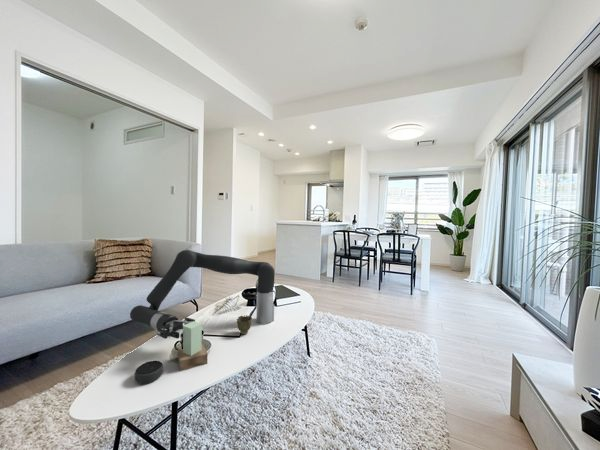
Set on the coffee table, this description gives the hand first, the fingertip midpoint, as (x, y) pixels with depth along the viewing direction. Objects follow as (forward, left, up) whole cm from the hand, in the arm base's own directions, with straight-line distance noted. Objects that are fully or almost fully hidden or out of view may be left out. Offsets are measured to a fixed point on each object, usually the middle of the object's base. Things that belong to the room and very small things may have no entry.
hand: (188, 331), depth 101 cm
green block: (-1, +2, -8) cm, 8 cm away
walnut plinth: (-1, +2, -12) cm, 12 cm away
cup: (-27, -10, -12) cm, 31 cm away
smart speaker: (+14, +5, -12) cm, 19 cm away
